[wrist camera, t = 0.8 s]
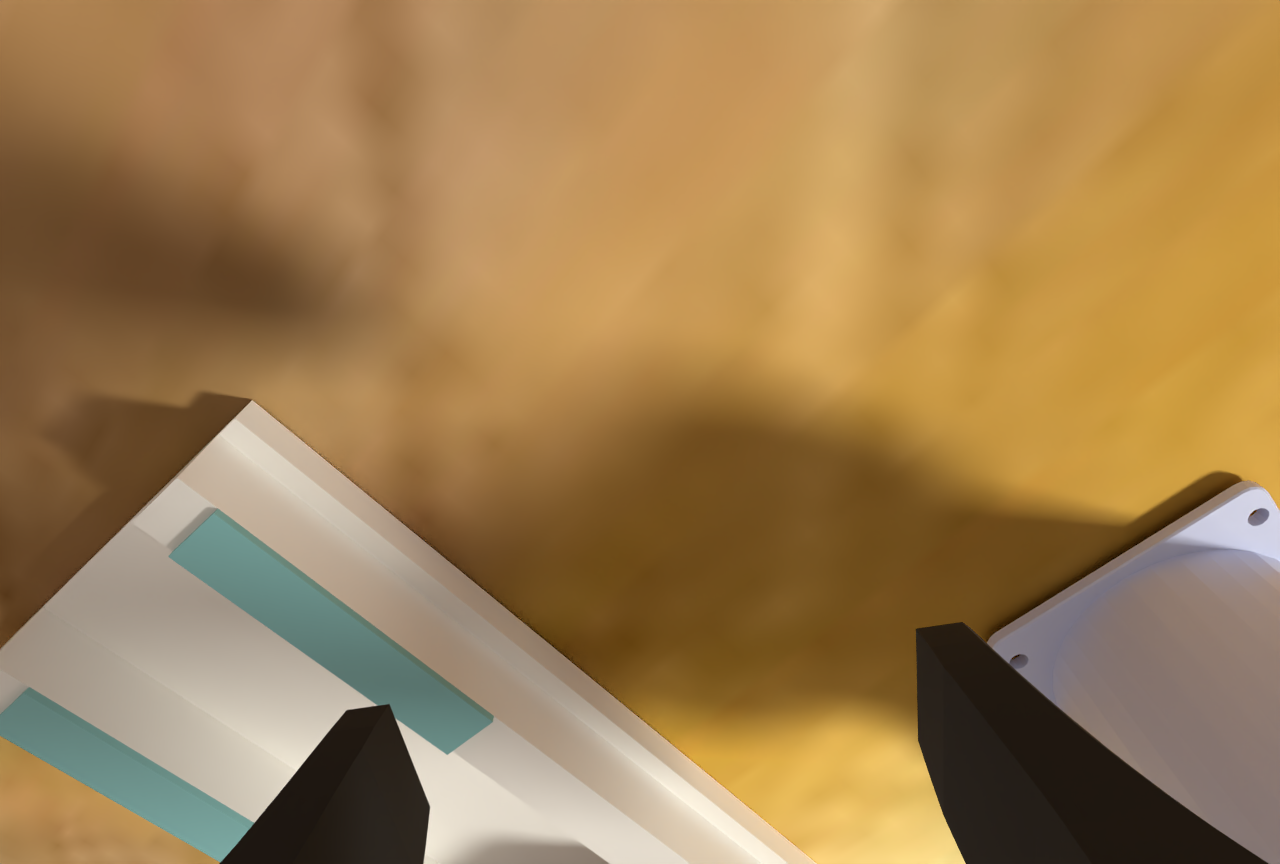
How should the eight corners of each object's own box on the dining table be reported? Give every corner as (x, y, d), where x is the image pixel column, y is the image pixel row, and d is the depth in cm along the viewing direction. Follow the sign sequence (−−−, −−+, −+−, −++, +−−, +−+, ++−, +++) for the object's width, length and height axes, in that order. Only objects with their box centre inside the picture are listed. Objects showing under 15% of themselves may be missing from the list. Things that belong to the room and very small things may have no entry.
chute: (872, 909, 29) (901, 1007, 26) (654, 1026, 31) (658, 1127, 28) (251, 400, 20) (190, 465, 17) (20, 628, 22) (-68, 718, 19)
